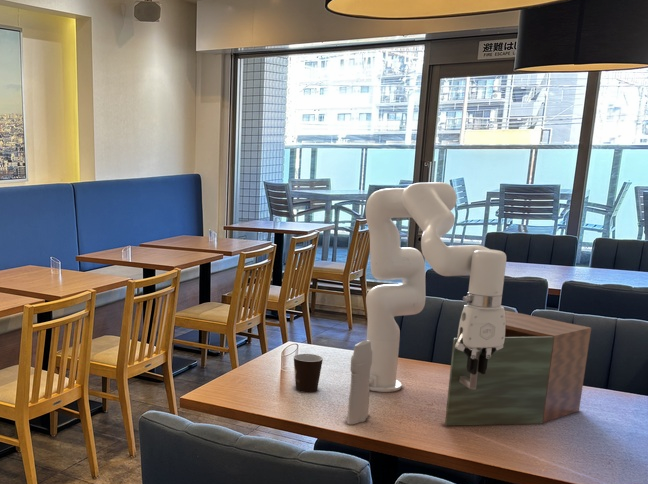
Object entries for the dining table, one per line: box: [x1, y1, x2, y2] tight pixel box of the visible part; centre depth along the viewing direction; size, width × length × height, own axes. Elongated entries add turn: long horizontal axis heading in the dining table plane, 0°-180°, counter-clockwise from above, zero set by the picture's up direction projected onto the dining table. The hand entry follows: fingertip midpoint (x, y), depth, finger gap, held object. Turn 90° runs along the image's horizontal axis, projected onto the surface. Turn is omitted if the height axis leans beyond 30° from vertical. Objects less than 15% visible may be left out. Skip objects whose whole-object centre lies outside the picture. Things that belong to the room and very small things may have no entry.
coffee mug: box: [293, 353, 324, 393], centre depth 220 cm, size 12×9×10 cm
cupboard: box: [504, 309, 592, 423], centre depth 204 cm, size 17×26×24 cm, turn 30°
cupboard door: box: [444, 336, 554, 427], centre depth 185 cm, size 7×26×24 cm, turn 93°
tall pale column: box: [346, 339, 373, 425], centre depth 192 cm, size 11×4×22 cm, turn 136°
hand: (476, 372), depth 180 cm, fingers closed on cupboard door
